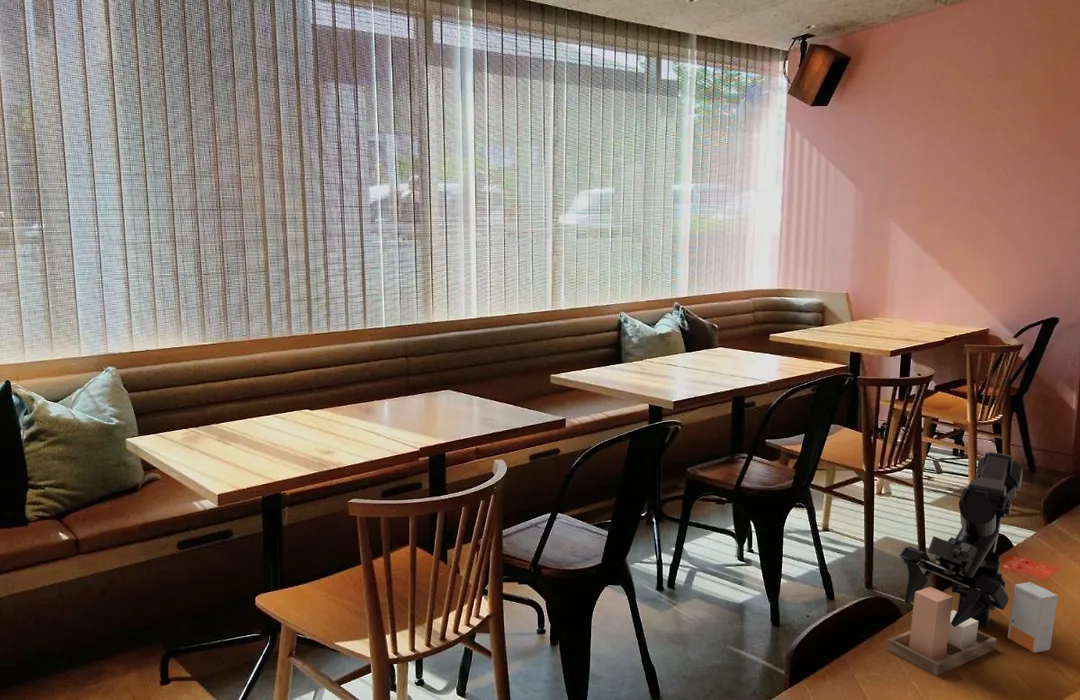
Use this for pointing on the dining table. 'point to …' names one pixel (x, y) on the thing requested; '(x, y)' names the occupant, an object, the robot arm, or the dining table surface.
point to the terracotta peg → (931, 623)
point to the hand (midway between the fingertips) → (929, 614)
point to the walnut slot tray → (953, 653)
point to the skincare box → (1032, 617)
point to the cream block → (963, 632)
